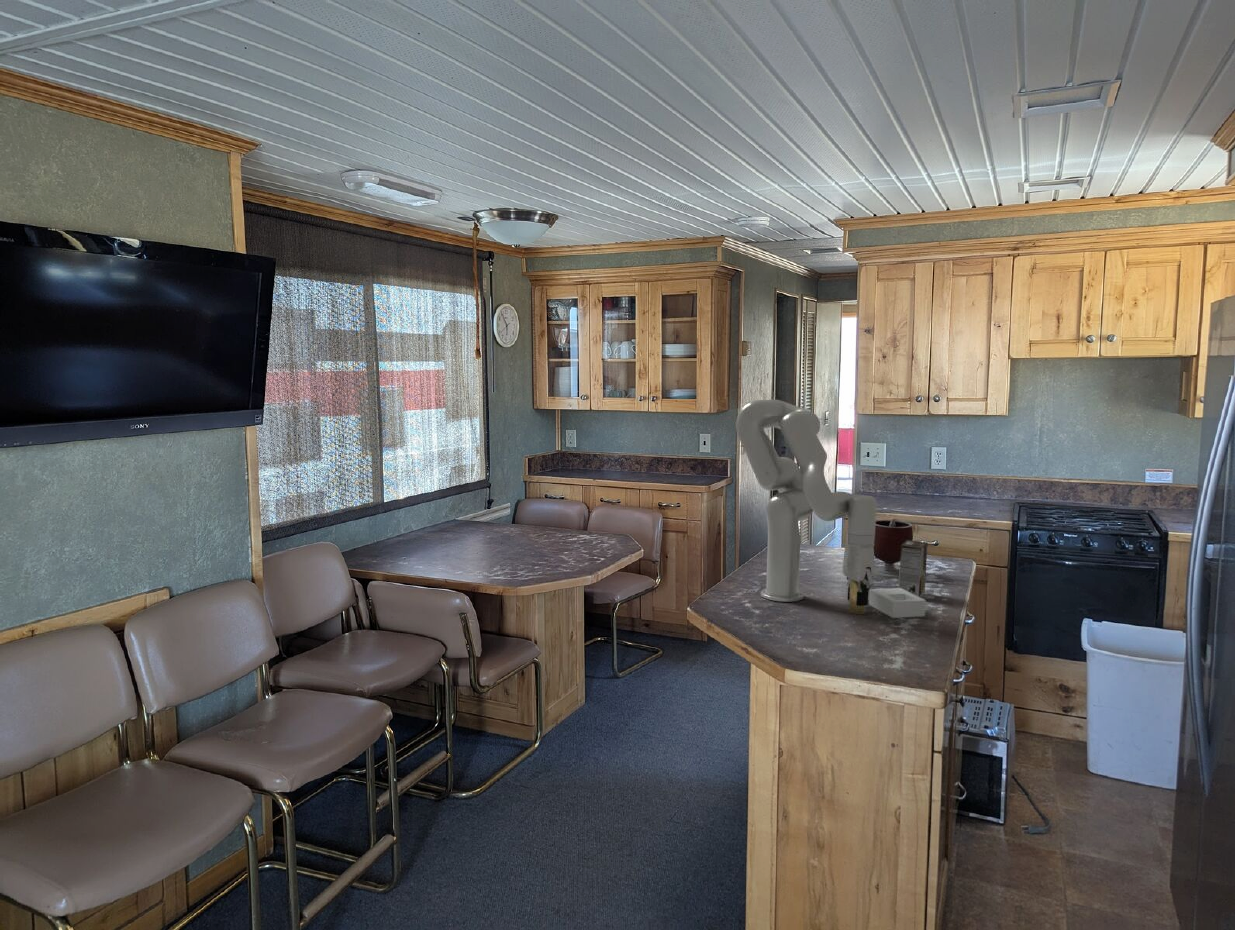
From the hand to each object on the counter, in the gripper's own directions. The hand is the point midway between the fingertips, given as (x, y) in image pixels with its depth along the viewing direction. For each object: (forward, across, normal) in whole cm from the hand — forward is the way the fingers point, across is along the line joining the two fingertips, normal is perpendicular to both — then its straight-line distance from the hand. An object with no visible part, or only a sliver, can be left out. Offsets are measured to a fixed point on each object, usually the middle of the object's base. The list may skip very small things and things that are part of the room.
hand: (857, 602), depth 235 cm
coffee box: (+3, -13, +25) cm, 28 cm away
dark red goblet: (+3, -38, +32) cm, 50 cm away
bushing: (+3, 0, 0) cm, 3 cm away
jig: (+3, 0, +12) cm, 12 cm away
